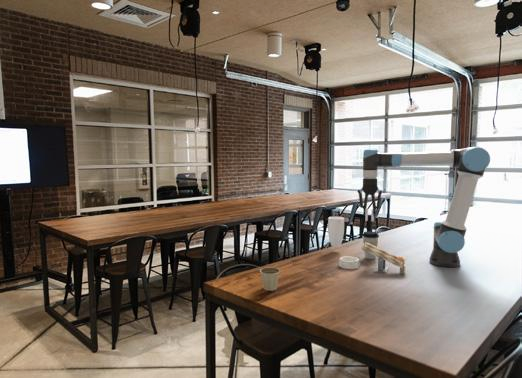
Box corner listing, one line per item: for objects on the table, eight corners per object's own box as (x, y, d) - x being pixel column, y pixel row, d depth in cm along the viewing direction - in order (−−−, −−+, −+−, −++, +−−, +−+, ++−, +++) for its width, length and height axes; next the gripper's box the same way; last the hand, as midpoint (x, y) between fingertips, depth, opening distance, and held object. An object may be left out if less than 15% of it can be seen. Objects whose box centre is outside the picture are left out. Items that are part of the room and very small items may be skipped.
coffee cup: (379, 260, 208) (379, 234, 207) (362, 259, 210) (362, 234, 209) (377, 255, 217) (377, 231, 216) (361, 255, 219) (361, 230, 218)
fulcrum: (405, 270, 190) (406, 256, 189) (403, 276, 180) (403, 261, 180) (377, 266, 197) (377, 253, 196) (373, 272, 187) (373, 258, 186)
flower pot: (274, 294, 160) (273, 275, 159) (256, 290, 165) (255, 271, 164) (284, 287, 168) (284, 269, 167) (266, 283, 173) (266, 266, 172)
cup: (326, 253, 225) (326, 218, 224) (329, 248, 235) (329, 216, 233) (342, 254, 222) (343, 219, 220) (345, 250, 231) (345, 216, 229)
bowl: (360, 264, 201) (360, 257, 200) (356, 269, 192) (356, 262, 191) (342, 262, 205) (342, 255, 205) (337, 267, 196) (337, 260, 196)
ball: (403, 263, 187) (404, 256, 186) (402, 265, 184) (403, 258, 183) (396, 261, 188) (397, 255, 188) (395, 263, 185) (396, 256, 185)
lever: (405, 261, 194) (407, 256, 193) (402, 268, 183) (405, 262, 182) (366, 243, 203) (368, 238, 202) (361, 249, 192) (363, 243, 191)
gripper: (386, 177, 196) (385, 220, 198) (357, 177, 203) (356, 218, 206) (383, 178, 189) (383, 223, 192) (353, 178, 197) (353, 220, 199)
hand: (369, 220), depth 199 cm, fingers open, 3 cm apart
